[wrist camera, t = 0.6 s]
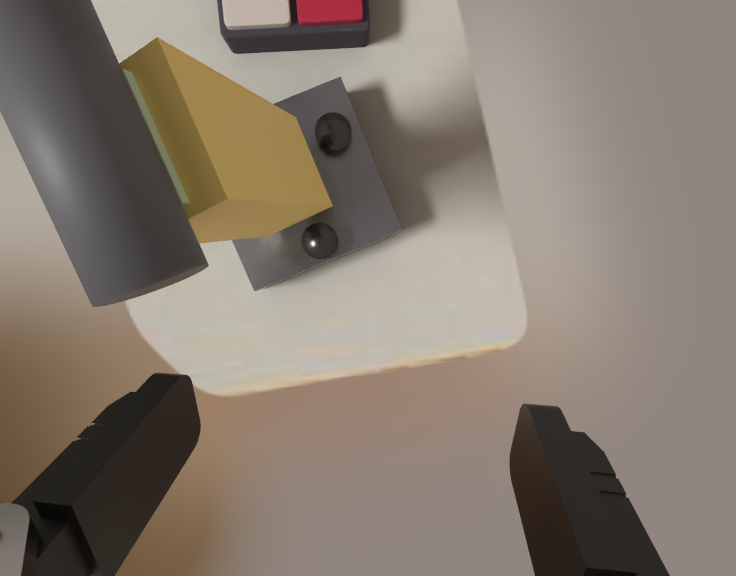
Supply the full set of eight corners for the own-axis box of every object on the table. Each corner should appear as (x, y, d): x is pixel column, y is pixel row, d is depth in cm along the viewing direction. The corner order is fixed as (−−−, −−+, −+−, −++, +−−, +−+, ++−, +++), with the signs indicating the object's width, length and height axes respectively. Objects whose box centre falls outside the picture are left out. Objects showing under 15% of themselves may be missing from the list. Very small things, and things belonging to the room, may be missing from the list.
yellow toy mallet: (236, 129, 29) (-107, 2, 12) (295, 95, 27) (6, -108, 10) (292, 260, 29) (48, 323, 12) (353, 233, 28) (174, 262, 11)
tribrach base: (202, 150, 32) (180, 133, 28) (341, 93, 33) (340, 68, 28) (263, 288, 33) (250, 292, 29) (397, 232, 33) (404, 228, 29)
